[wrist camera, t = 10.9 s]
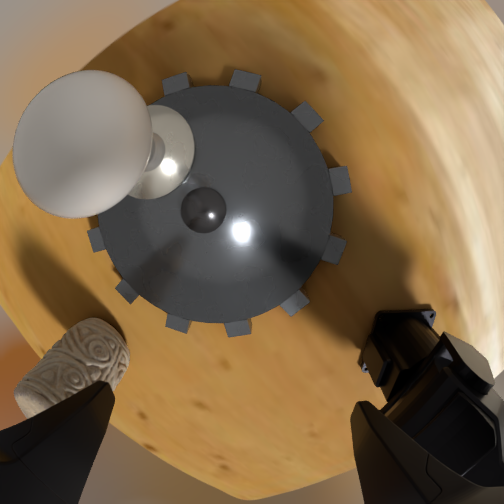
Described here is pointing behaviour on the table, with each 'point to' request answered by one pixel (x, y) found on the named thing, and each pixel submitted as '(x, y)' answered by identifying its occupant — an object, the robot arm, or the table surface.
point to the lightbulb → (84, 144)
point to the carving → (74, 366)
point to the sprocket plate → (225, 208)
